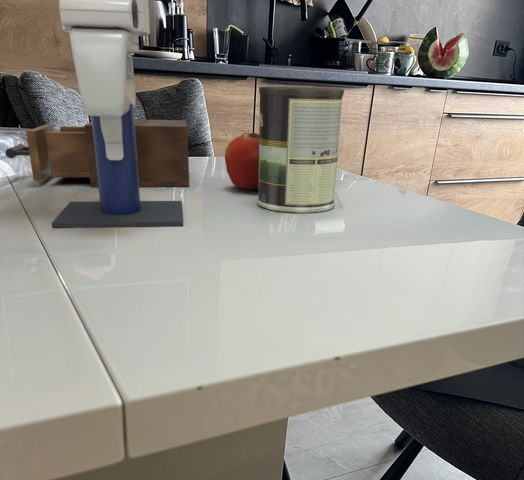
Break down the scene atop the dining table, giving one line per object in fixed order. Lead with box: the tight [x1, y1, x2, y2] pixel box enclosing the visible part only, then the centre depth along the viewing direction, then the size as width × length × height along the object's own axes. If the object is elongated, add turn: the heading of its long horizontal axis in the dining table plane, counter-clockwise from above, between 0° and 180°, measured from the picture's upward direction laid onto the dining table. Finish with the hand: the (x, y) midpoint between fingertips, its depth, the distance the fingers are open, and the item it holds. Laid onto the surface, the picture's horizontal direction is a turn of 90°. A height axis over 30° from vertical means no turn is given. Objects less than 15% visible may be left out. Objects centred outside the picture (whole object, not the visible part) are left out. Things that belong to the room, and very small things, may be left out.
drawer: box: [4, 124, 90, 181], centre depth 86 cm, size 18×13×7 cm
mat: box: [50, 200, 184, 229], centre depth 65 cm, size 14×12×1 cm
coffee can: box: [257, 86, 345, 214], centre depth 69 cm, size 10×10×14 cm
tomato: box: [224, 132, 259, 191], centre depth 81 cm, size 9×9×8 cm
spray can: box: [90, 104, 141, 215], centre depth 62 cm, size 5×5×13 cm
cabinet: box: [83, 119, 190, 188], centre depth 87 cm, size 15×15×9 cm
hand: (118, 156), depth 62 cm, fingers closed on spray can, 4 cm apart
